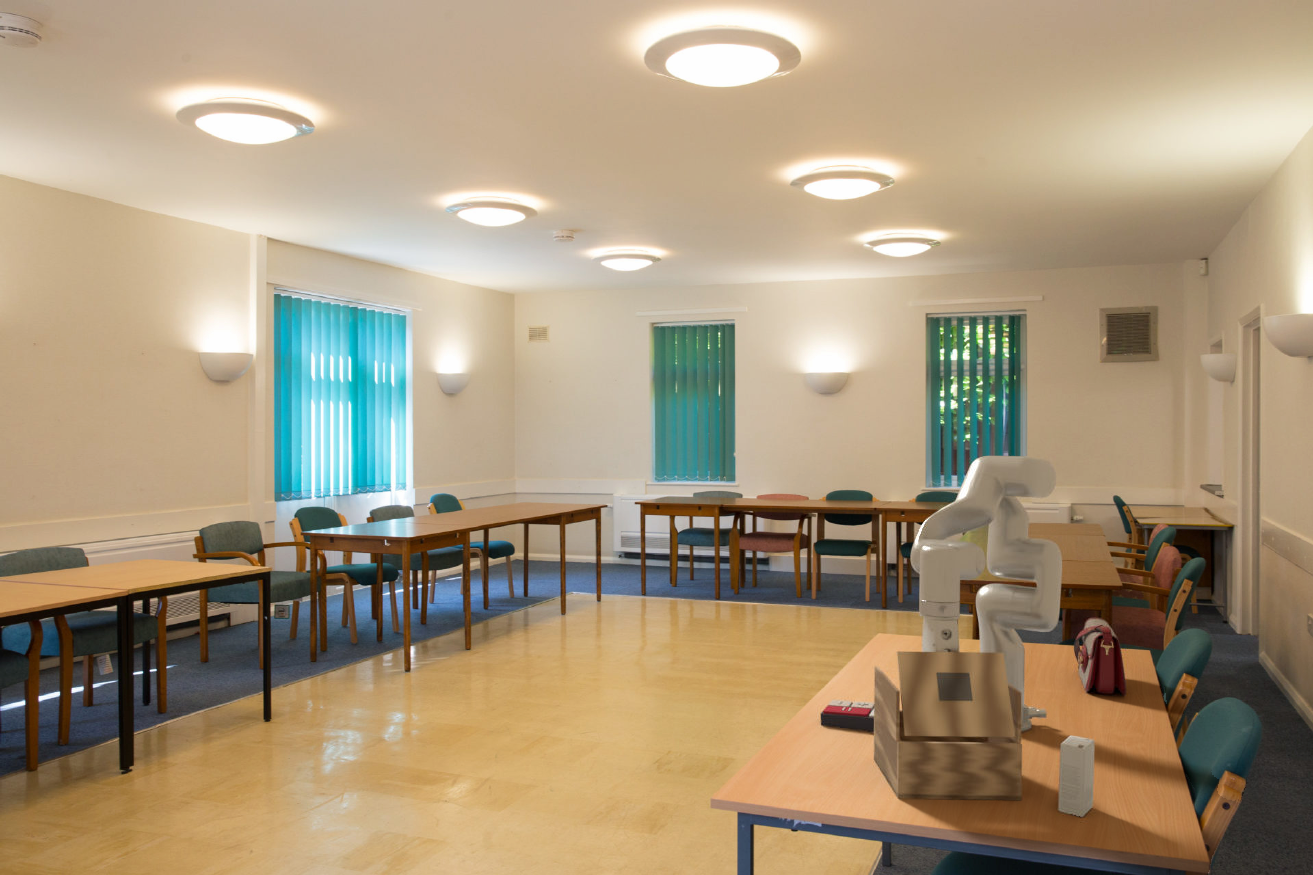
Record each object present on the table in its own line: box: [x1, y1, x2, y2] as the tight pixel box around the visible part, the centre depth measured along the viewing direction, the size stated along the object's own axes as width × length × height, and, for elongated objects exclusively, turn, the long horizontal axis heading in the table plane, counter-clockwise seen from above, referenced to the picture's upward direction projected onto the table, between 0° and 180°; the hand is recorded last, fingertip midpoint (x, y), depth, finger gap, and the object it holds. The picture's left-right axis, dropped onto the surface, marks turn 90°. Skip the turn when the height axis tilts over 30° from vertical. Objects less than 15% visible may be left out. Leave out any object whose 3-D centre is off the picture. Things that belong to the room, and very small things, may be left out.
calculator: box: [820, 699, 874, 734], centre depth 209 cm, size 11×4×15 cm
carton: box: [873, 665, 1023, 801], centre depth 175 cm, size 22×20×19 cm
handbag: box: [1073, 617, 1127, 696], centre depth 243 cm, size 28×11×17 cm, turn 160°
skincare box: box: [1057, 735, 1096, 818], centre depth 161 cm, size 6×4×12 cm
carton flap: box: [896, 651, 1015, 737], centre depth 169 cm, size 20×15×1 cm
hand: (938, 703), depth 179 cm, fingers closed
